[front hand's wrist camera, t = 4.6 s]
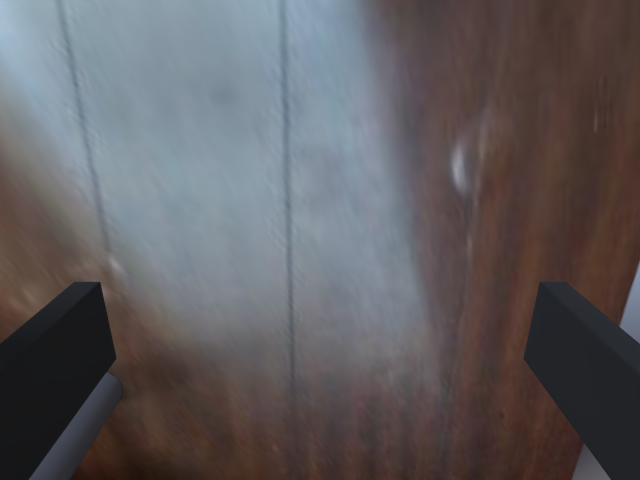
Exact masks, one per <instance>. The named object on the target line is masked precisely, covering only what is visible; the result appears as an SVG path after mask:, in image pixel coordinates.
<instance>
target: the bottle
mask: <svg viewBox="0 0 640 480" xmlns="http://www.w3.org/2000/svg"><path fill="white" fill-rule="evenodd" d="M122 394H123V388H122V385H121V383H120V381H119V380H118V379H117V378H116V377H115V376H113V375H112V374H110V373H108V372H106V374H105V375H104V376H103V378H102V379H101V381H100V382H99V383H98V385H97V386H96V387H95V389H94V390H93V392H92V393H91V394H90V396H89V397H88V399H87V400H86V401H85V403H84V404H83V405H82V407H81V408H80V410H79V411H78V412H77V414H76V415H75V417H74V418H73V419H72V421H71V422H70V423H69V425H68V426H67V428H66V429H65V430H64V432H63V433H62V435H61V436H60V437H59V439H58V440H57V441H56V443H55V444H54V446H53V447H52V448H51V450H50V451H49V453H48V454H47V455H46V457H45V458H44V459H43V461H42V462H41V464H40V465H39V466H38V468H37V469H36V471H35V472H34V473H33V475H32V476H31V477H30V479H29V480H70V479H71V477H72V476H73V474H74V472H75V471H76V469H77V467H78V466H79V464H80V463H81V461H82V459H83V458H84V456H85V455H86V453H87V451H88V450H89V448H90V447H91V445H92V443H93V442H94V440H95V438H96V437H97V435H98V434H99V432H100V430H101V429H102V427H103V426H104V424H105V422H106V421H107V419H108V417H109V416H110V414H111V413H112V411H113V409H114V408H115V406H116V405H117V403H118V401H119V400H120V398H121V397H122Z"/></svg>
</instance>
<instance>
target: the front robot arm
mask: <svg viewBox="0 0 640 480" xmlns="http://www.w3.org/2000/svg"><path fill="white" fill-rule="evenodd" d="M115 360H116V354H115V350H114V345H113V340H112V335H111V331H110V326H109V321H108V317H107V312H106V307H105V302H104V298H103V293H102V288H101V284H100V282H74V283H73V284H71V285H70V286H69V287H68V288H67V289H65V290H64V291H63V292H62V293H61V294H59V295H58V296H57V297H56V298H55V299H53V300H52V301H51V302H50V303H49V304H47V305H46V306H45V307H44V308H43V309H41V310H40V311H39V312H38V313H37V314H36V315H34V316H33V317H32V318H31V319H30V320H28V321H27V322H26V323H25V324H24V325H22V326H21V327H20V328H19V329H18V330H16V331H15V332H14V333H13V334H12V335H10V336H9V337H8V338H7V339H6V340H4V341H3V342H2V343H1V344H0V480H29V479H30V477H31V476H32V475H33V473H34V472H35V471H36V469H37V468H38V466H39V465H40V464H41V462H42V461H43V459H44V458H45V457H46V455H47V454H48V453H49V451H50V450H51V448H52V447H53V446H54V444H55V443H56V441H57V440H58V439H59V437H60V436H61V435H62V433H63V432H64V430H65V429H66V428H67V426H68V425H69V423H70V422H71V421H72V419H73V418H74V417H75V415H76V414H77V412H78V411H79V410H80V408H81V407H82V405H83V404H84V403H85V401H86V400H87V399H88V397H89V396H90V394H91V393H92V392H93V390H94V389H95V387H96V386H97V385H98V383H99V382H100V381H101V379H102V378H103V376H104V375H105V374H106V372H107V371H108V369H109V368H110V367H111V365H112V364H113V363H114V361H115ZM524 360H525V361H526V363H527V364H528V365H529V367H530V368H531V369H532V371H533V372H534V374H535V375H536V376H537V378H538V379H539V381H540V382H541V383H542V385H543V386H544V387H545V389H546V390H547V392H548V393H549V394H550V396H551V397H552V399H553V400H554V401H555V403H556V404H557V405H558V407H559V408H560V410H561V411H562V412H563V414H564V415H565V417H566V418H567V419H568V421H569V422H570V423H571V425H572V426H573V428H574V429H575V430H576V432H577V433H578V435H579V436H580V437H581V439H582V440H583V441H584V443H585V444H586V446H587V447H588V448H589V450H590V451H591V453H592V454H593V455H594V457H595V458H596V459H597V461H598V462H599V464H600V465H601V466H602V468H603V469H604V470H605V472H606V473H607V475H608V476H609V477H610V479H611V480H640V344H639V343H638V342H637V341H636V340H634V339H633V338H632V337H631V336H629V335H628V334H627V333H626V332H625V331H624V330H622V329H621V328H620V327H619V326H618V325H616V324H615V323H614V322H613V321H612V320H610V319H609V318H608V317H607V316H606V315H604V314H603V313H602V312H601V311H600V310H599V309H597V308H596V307H595V306H594V305H593V304H591V303H590V302H589V301H588V300H587V299H585V298H584V297H583V296H582V295H581V294H579V293H578V292H577V291H576V290H575V289H573V288H572V287H571V286H570V285H569V284H567V283H566V282H540V284H539V288H538V293H537V298H536V302H535V307H534V312H533V317H532V321H531V326H530V331H529V335H528V340H527V345H526V350H525V354H524Z"/></svg>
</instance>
